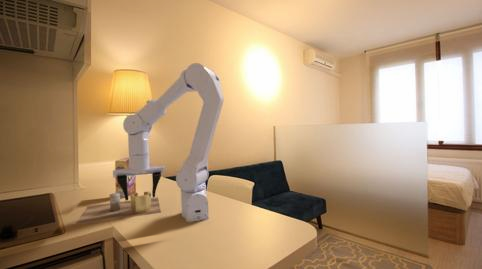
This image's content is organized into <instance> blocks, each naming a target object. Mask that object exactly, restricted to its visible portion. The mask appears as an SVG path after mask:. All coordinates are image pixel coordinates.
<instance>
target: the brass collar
mask: <svg viewBox="0 0 482 269" xmlns="http://www.w3.org/2000/svg"><path fill="white" fill-rule="evenodd" d="M129 197H130V201H131V212H132V213H143V212H147V211H149V210H150V209H151V198H152V193H151V192H150V191H143V195H142V194H141V195H138V192H136V193H133V194H131V195H130V196H129Z"/></svg>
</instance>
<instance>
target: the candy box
mask: <svg viewBox="0 0 482 269" xmlns="http://www.w3.org/2000/svg"><path fill="white" fill-rule="evenodd" d="M114 163H115V164H114V168H115V169H114V170H120V169H128V168H129V157H125V158H121V159H118V160H115V161H114ZM114 179H115V180H114V181H115V183H114V184H115V193H120V199H125V196H124V193H123V190H122V188H121V186H120V185H119V183H118V181H117V177H114ZM136 185H137V184H136V175H132V176H127V188H128V197H130V195H131V194H133V193H137V191H136V190H137V188H136V187H137V186H136Z"/></svg>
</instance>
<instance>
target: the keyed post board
mask: <svg viewBox="0 0 482 269" xmlns="http://www.w3.org/2000/svg"><path fill="white" fill-rule="evenodd" d="M160 213H162V211H161V207H160V200H159V197H158V196H155V197H151V209H150V210H149V211H147V212H143V213H132V212H131V200H127V201H125V200H124V201H121V198H120V193H116V192H113V193H111V194H109V203H101V204H94V205H88V206H87V207H86V208H85V209H84V211H83V212H82V213H81V215H80V217H79V218H78V219H77V221H76V222H75V223H74V227H75V226H80V225H86V224H87V225H88V224H94V223H95V224H96V223H99V222H101V223H102V222H108V221H114V220H119V219H120V220H121V219H126V218H133V217H140V216H147V215H154V214H160Z"/></svg>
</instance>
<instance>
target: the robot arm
mask: <svg viewBox="0 0 482 269" xmlns="http://www.w3.org/2000/svg"><path fill="white" fill-rule="evenodd" d="M189 92H190V93H191V92H197V93H198V96H200V99H202V101H203V102H202V108H201V110H200V114H199V116H198V122H197V126H196V128H195V131H194V132H195V133H194V136H193V140H192V143H191V147H190V150H189V154H188V156H187V158H185V160H184V161H183V163H182V166H181V168H180V170H179V171H178V172H177V173H176V176H175V183H176V185H177V187H178V188H179V189H180V198H181V199H180V202H181V207H180V208H181V216H182V218H183V219H185V221H186V223H192V222H199V221H203V220H209V219H210V215H209V200H208V197H207V185H206V181H207V180H208V179H209V164H210V163H209V160H208V158H209V157H208V156H209V153H210V151H211V146H212V143H213V140H214V136H215V132H216V129H217V127H218V126H217V125H218V122H219V119H220V116H221V113H222V107H223V106H224V95H223V90H222V86H221V79H220V77H219V76H218V75H217V73H216V72H214V71H213V70H210V69H209V68H207V67H206V66H204V65H203V64H202V63H199V62H194V63H191V64H190V65H189V66H188V67H187V68H186V69H184V70H183V71H181V73H180V75H179V77H178V78H177V79H176V80H175V81H174V82H173V84H172V85H170V86H169V88H167V89H166V90H165V91H164V93H162V95H160V96H159V97H158V98H152V99H148V100H147V101H145V102H146V104H145V105H144V106H142V108H140V109H139V110H137V111H135V113H134V114H128V115H126V117H125V118H124V120H123V124H122V126H123V130H124V131H125V133H127V140H128V143H127V144H128V158H129V168H128V169H120V170H115V169H113V170H112V178H113V179H115V177H117V181H118V183H119V185H120V186H121V188H122V190H123V193H124V196H125V198H124V201H129V196H128V188H127V176H132V175H135V176H140V175H141V176H142V175H152V176H151V178H152V188H151V189H152V191H151V192H152V193H151V197H152V198H155V197H156V191H157V189H158V188H157V187H158V184H159V182H160V180H161V177H162V174H165V166H164V165H162V166H150V152H149V150H150V149H149V148H150V147H149V144H150V143H149V138H150V132H151V131H152V129H153V125H154V124H156V123H157V122H158V121H159V120H160V119H162V118H163V117H164V116H165V115H166V114H167V110H168V107H169V106H171V105H172V104H174V102H176V101H177V100H179V99H180V98H181V97H182V96H183V95H185V94H187V93H189Z"/></svg>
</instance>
